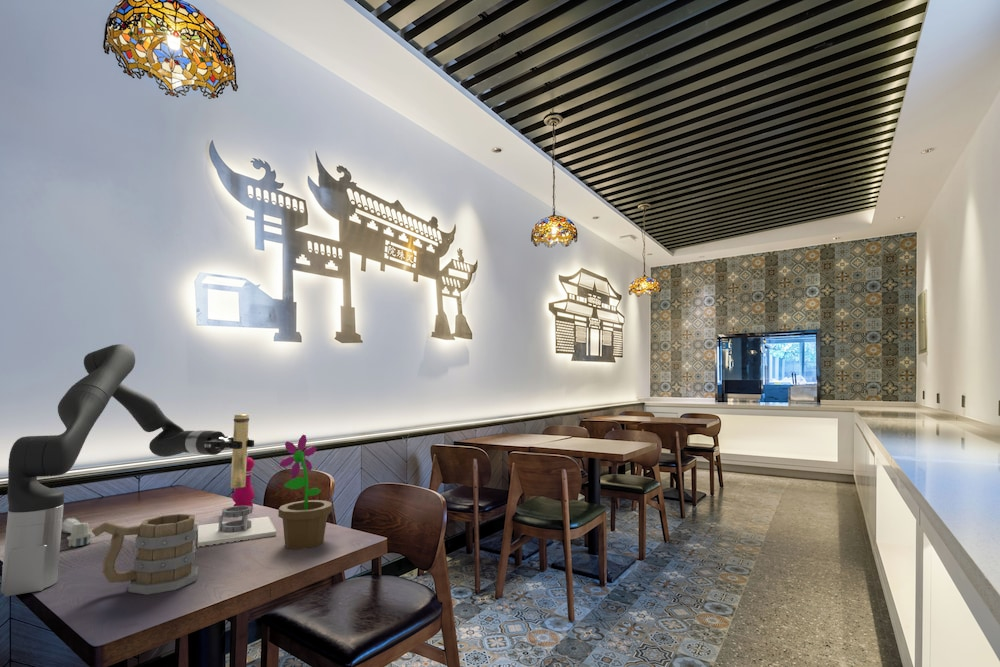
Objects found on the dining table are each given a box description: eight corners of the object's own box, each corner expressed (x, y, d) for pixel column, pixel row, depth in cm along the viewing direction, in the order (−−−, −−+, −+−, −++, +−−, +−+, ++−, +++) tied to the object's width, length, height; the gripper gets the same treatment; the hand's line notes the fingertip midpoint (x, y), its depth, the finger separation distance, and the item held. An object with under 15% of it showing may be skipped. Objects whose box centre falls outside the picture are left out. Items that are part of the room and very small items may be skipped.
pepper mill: (229, 511, 175) (232, 454, 177) (234, 507, 182) (237, 452, 184) (251, 510, 177) (254, 453, 179) (255, 505, 184) (258, 451, 186)
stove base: (276, 535, 147) (277, 511, 148) (197, 547, 137) (199, 521, 138) (268, 520, 164) (269, 498, 165) (197, 529, 154) (199, 506, 155)
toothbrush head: (79, 515, 157) (94, 518, 141) (78, 538, 156) (93, 543, 139) (57, 519, 153) (70, 522, 137) (56, 541, 152) (69, 547, 136)
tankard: (198, 568, 121) (202, 505, 122) (195, 587, 110) (199, 517, 111) (95, 584, 111) (100, 516, 113) (79, 606, 100) (85, 530, 102)
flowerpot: (309, 532, 150) (312, 432, 153) (342, 540, 142) (344, 434, 146) (265, 546, 138) (270, 436, 141) (299, 554, 130) (303, 439, 133)
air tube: (246, 487, 151) (250, 414, 153) (230, 488, 149) (234, 415, 151) (245, 485, 155) (248, 414, 157) (229, 486, 153) (233, 414, 155)
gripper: (185, 432, 152) (228, 434, 146) (224, 428, 165) (265, 430, 159) (184, 457, 151) (227, 460, 145) (223, 451, 164) (264, 453, 159)
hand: (247, 444), depth 152 cm, fingers closed on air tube, 4 cm apart
